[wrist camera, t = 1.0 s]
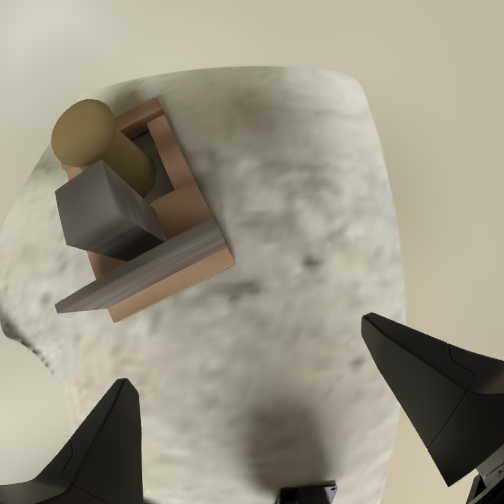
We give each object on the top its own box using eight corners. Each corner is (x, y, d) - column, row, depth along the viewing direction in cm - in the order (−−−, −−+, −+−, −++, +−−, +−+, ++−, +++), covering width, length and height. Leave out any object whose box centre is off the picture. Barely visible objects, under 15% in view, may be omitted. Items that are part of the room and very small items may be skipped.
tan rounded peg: (112, 151, 25) (60, 92, 14) (162, 152, 25) (122, 82, 14) (95, 204, 24) (28, 161, 13) (147, 209, 24) (88, 159, 13)
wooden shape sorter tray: (235, 263, 23) (226, 240, 12) (119, 321, 22) (40, 338, 11) (161, 108, 25) (130, 34, 14) (70, 162, 24) (11, 114, 13)
